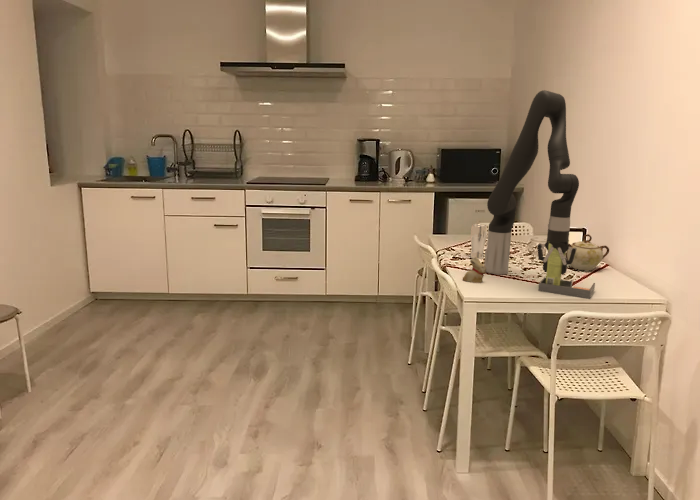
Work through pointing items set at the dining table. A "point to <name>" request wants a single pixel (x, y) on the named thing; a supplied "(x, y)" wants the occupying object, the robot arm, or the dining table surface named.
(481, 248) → the beer glass
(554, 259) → the tube
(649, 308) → the dining table surface
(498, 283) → the dining table surface
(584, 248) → the sugar bowl
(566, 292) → the channel
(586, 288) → the pad
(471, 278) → the chocolate bunny
